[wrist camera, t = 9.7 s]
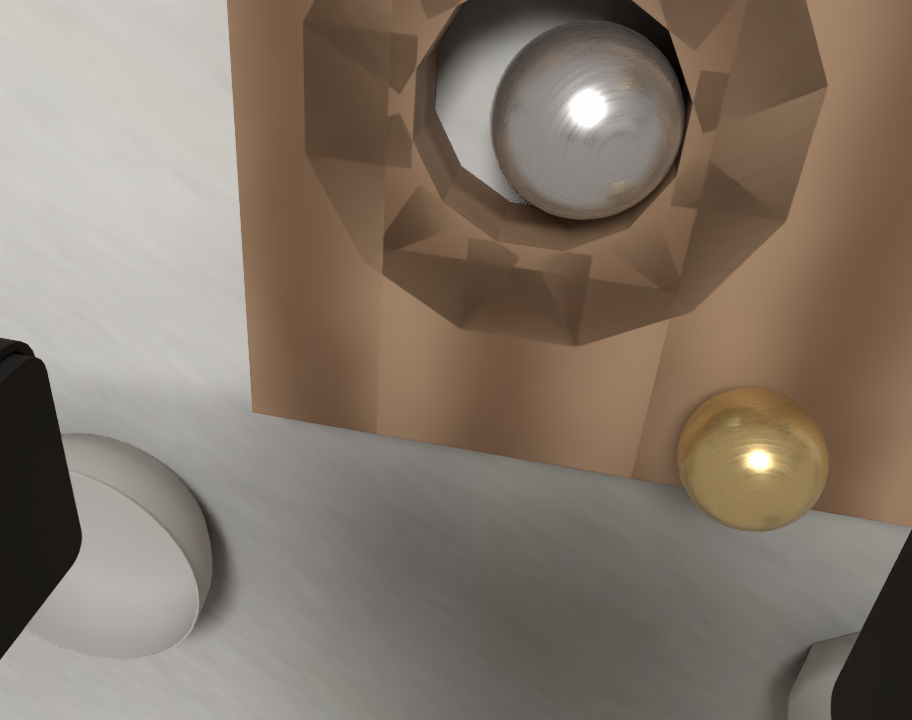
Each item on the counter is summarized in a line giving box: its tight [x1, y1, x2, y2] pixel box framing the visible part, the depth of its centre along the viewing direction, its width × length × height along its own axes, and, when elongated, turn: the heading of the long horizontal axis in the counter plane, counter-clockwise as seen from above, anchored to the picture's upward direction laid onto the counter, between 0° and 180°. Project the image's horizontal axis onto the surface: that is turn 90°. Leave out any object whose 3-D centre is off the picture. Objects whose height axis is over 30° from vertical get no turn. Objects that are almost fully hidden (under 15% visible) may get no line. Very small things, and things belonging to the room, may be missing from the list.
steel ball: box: [490, 20, 685, 220], centre depth 22 cm, size 5×5×5 cm
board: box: [227, 0, 912, 527], centre depth 23 cm, size 23×22×3 cm
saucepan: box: [24, 434, 212, 660], centre depth 34 cm, size 11×18×4 cm, turn 21°
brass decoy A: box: [677, 388, 829, 532], centre depth 24 cm, size 4×4×4 cm
